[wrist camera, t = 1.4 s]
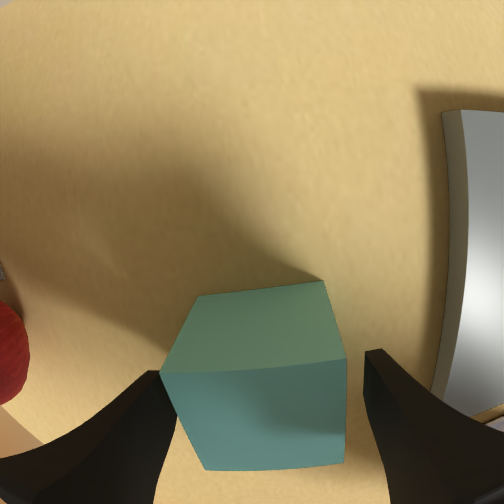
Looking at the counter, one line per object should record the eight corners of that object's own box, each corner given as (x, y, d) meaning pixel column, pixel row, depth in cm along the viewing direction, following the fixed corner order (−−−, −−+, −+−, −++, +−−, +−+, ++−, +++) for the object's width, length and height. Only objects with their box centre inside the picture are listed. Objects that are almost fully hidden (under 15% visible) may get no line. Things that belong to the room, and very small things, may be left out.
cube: (329, 376, 14) (343, 462, 9) (224, 386, 14) (205, 470, 10) (322, 279, 12) (346, 358, 7) (198, 294, 13) (159, 372, 8)
